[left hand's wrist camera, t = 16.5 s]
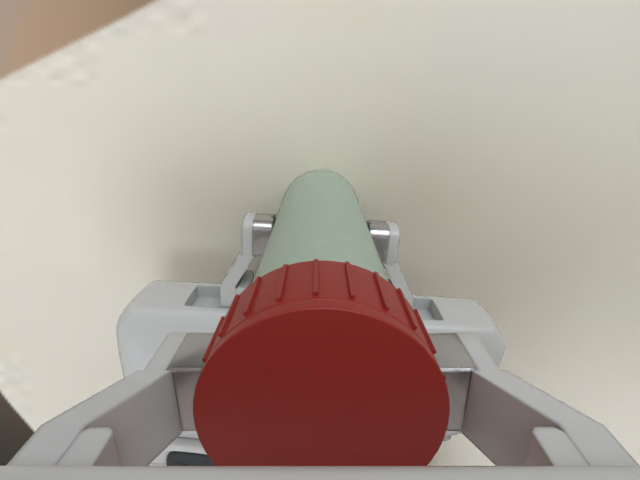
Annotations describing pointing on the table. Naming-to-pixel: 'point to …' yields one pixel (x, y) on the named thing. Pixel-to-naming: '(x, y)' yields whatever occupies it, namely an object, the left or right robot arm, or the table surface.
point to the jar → (320, 226)
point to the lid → (321, 374)
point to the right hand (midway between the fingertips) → (320, 219)
